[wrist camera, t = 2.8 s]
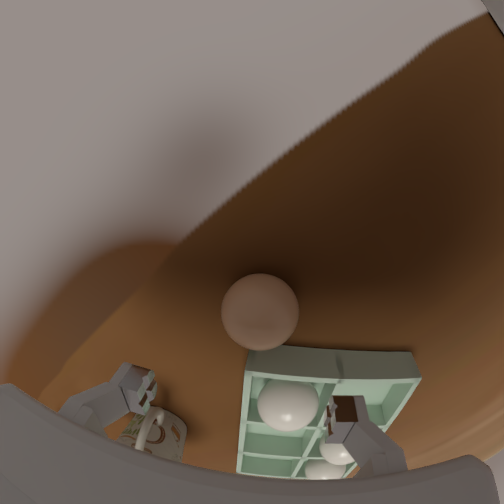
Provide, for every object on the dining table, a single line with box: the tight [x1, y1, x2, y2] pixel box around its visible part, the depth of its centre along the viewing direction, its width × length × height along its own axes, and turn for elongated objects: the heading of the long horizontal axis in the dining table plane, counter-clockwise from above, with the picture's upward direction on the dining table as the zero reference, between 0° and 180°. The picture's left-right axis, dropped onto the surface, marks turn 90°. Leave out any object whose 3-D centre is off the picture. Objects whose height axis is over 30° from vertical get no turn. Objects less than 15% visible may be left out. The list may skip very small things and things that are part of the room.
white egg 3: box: [305, 459, 346, 480], centre depth 22 cm, size 5×5×5 cm
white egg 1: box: [257, 379, 319, 432], centre depth 18 cm, size 5×5×5 cm
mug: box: [116, 406, 187, 462], centre depth 21 cm, size 8×13×10 cm, turn 167°
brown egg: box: [221, 273, 299, 351], centre depth 16 cm, size 5×5×5 cm
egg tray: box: [236, 345, 422, 479], centre depth 22 cm, size 19×13×3 cm
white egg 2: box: [319, 431, 355, 465], centre depth 20 cm, size 5×5×5 cm
